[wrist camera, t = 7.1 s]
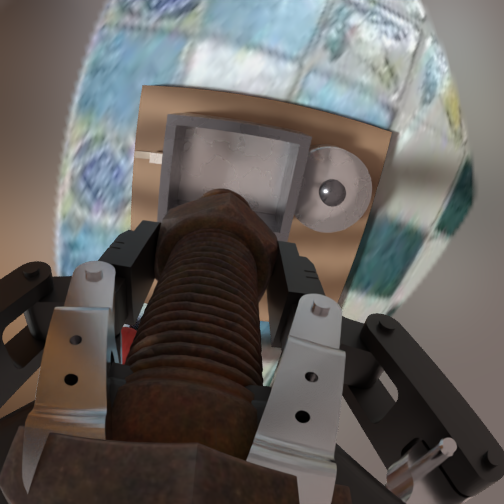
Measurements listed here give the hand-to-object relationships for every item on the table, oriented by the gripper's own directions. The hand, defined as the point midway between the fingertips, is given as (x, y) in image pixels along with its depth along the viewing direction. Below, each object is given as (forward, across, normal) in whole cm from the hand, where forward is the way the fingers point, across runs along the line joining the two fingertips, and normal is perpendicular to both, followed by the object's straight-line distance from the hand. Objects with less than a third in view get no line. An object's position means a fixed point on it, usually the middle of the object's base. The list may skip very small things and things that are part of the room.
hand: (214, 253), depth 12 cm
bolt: (+5, 0, 0) cm, 5 cm away
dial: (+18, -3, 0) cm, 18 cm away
